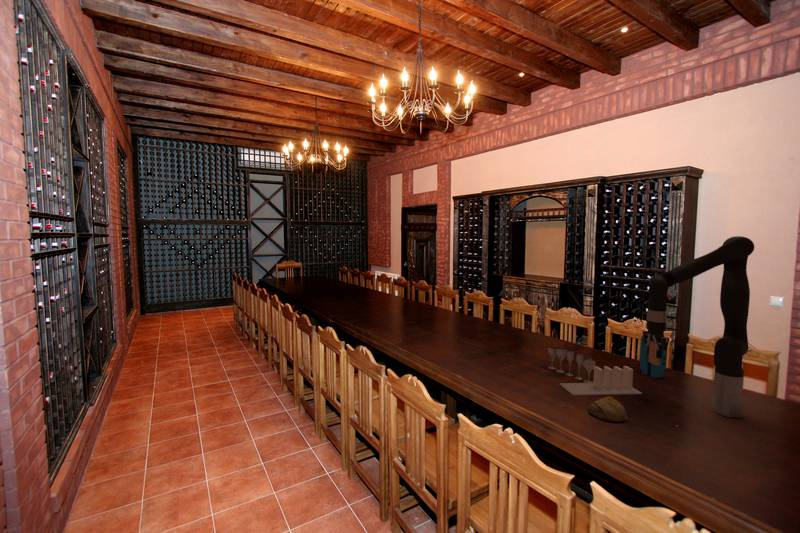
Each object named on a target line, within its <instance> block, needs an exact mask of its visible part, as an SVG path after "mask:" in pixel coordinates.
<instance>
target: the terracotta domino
mask: <svg viewBox="0 0 800 533" xmlns="http://www.w3.org/2000/svg"><path fill="white" fill-rule="evenodd" d="M657 343H658V342H657ZM660 346H661V345H659V348H660ZM656 351H657V348H656V345H655V343H654V341H651V342H650V344H649V361H648V362H650V363H653V364H655V365H660V358H656Z"/></svg>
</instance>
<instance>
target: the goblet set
mask: <svg viewBox="0 0 800 533" xmlns="http://www.w3.org/2000/svg"><path fill="white" fill-rule="evenodd" d="M547 351H548V352H547V354H548V356H549V357H550V359H551V365H554V364H553V362H554V359H555V357H556V356H557V358H558V360H559V369H557V368H556V367H554V366H547V369H550V370H555V372H557V373H560V374H564V373H565V375H566V376H568V377H573V376H574V374H572V373H571V364H572V363H573V361H574V358H575V361H576V363H577V367H578V373H580V370H581V366H582V365H583V367H584V368H585V369H586V371H587V373H588V376H587V377H588V379H583V377H581V376H580V375H578V376H575V377H574V379H576V380H580V381H582V380H583V383H593V381H592V380H590V373H591V371H594V367H597V364H596V360H595V359H594V358H590V357H585V358H584V354H583V353H576V356H575V351H574V350H571V349H568V350H567V348H566V347H562V346H561V347H560V346H548V349H547ZM565 358H566V360H567V362H568V368H569V369H568V370H569V371H568V372H567V373H566V372H565V370H563V369H562V362H563V361H564V359H565Z"/></svg>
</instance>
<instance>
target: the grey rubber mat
mask: <svg viewBox="0 0 800 533" xmlns="http://www.w3.org/2000/svg"><path fill="white" fill-rule="evenodd" d="M559 386H561V387H562V389H564V390H566V391H567V392H568V393H569V394H570V395H571V396H577V397H578V396H579V397H581V396H617V395H618V396H619V395H623V396H625V395H627V396H628V395H629V396H630V395H642V394H643V392H641V391H640V390H638V389H636V388H634V387H633V386H632V390H629V389H627V388H625V387H624V386H622V390H618V389H617V388H615V387H614V386H612V390H608V389H607V388H605V387H604V386H603V388H602V390H598V389H597V388H595V387H594V386H593V383H585V382H572V383H571V382H570V383H569V382H568V383H567V382H566V383H561V382H560V383H559Z"/></svg>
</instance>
